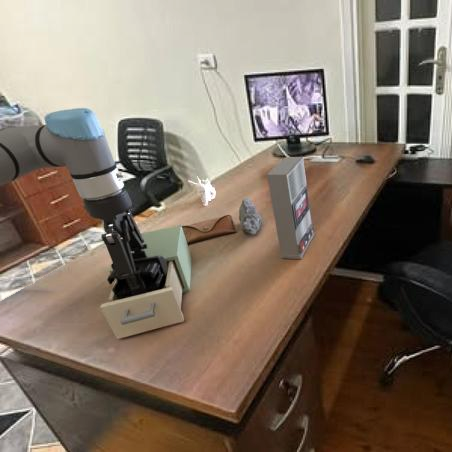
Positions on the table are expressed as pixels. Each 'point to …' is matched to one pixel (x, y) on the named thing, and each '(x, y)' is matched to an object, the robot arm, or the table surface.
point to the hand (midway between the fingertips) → (144, 285)
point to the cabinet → (170, 250)
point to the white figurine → (204, 191)
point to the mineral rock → (249, 217)
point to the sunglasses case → (209, 229)
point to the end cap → (142, 276)
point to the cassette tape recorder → (291, 207)
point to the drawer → (146, 307)
